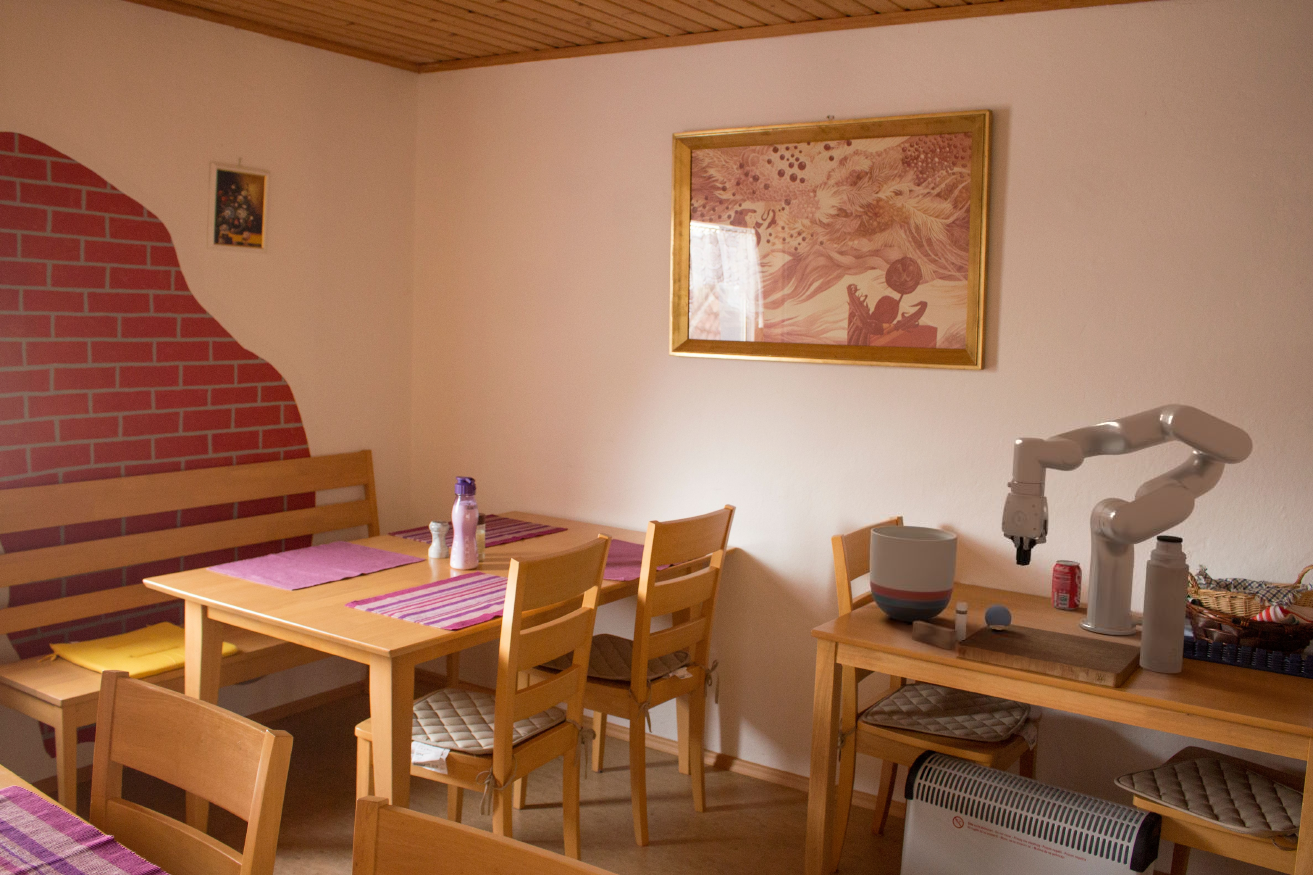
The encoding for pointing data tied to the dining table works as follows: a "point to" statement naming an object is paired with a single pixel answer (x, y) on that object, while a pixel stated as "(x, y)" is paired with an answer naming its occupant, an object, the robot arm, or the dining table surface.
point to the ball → (998, 616)
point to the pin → (961, 620)
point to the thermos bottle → (1164, 607)
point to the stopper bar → (934, 635)
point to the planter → (912, 571)
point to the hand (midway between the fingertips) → (1022, 564)
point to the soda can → (1066, 585)
